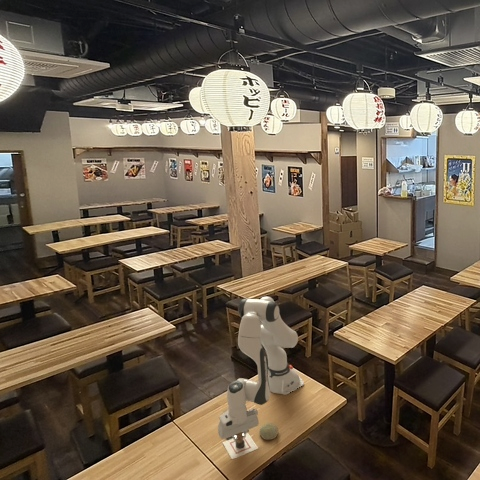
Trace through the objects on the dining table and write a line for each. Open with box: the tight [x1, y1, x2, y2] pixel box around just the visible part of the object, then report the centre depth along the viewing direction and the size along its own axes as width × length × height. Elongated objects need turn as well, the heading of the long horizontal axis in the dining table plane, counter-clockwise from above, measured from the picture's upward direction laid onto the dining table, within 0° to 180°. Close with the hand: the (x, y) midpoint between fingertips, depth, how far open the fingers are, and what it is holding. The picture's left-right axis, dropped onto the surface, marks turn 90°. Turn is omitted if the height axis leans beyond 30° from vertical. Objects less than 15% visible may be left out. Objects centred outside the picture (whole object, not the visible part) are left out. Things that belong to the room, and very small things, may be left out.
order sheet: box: [222, 432, 259, 460], centre depth 197 cm, size 14×12×1 cm
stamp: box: [236, 432, 245, 449], centre depth 195 cm, size 4×4×9 cm
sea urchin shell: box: [258, 422, 279, 441], centre depth 202 cm, size 9×8×8 cm
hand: (239, 438), depth 196 cm, fingers closed on stamp, 3 cm apart
